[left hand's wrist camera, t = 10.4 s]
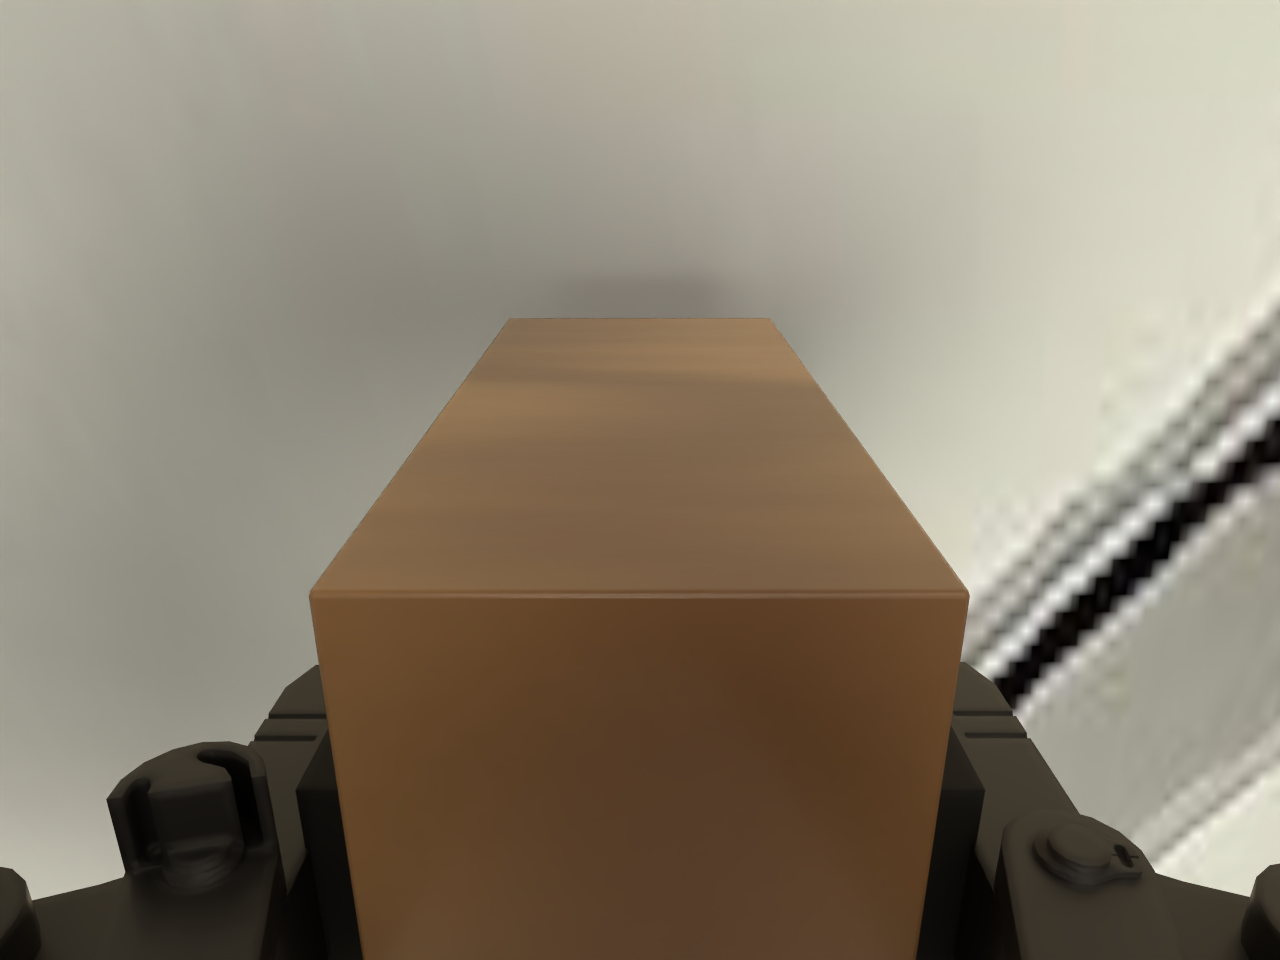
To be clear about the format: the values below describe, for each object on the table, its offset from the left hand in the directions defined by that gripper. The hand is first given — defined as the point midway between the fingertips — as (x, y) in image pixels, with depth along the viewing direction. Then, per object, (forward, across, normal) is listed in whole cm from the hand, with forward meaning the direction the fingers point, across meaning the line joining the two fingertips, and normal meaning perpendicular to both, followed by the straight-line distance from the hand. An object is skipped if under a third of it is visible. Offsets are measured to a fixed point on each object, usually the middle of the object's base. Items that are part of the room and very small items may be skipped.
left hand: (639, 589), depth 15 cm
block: (+3, 0, 0) cm, 3 cm away
